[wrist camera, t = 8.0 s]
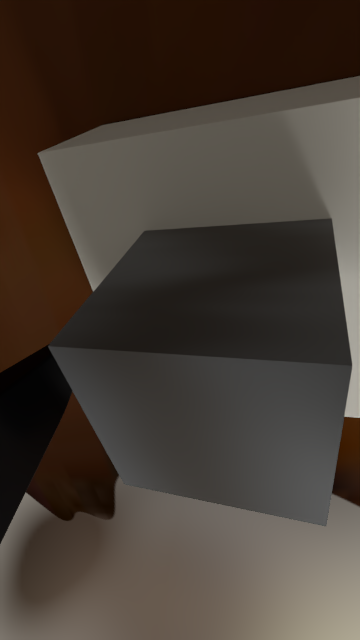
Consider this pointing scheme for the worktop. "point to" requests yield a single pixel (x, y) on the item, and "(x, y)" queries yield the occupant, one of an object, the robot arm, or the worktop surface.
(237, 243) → the charcoal cube
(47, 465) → the worktop surface
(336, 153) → the cream base block
